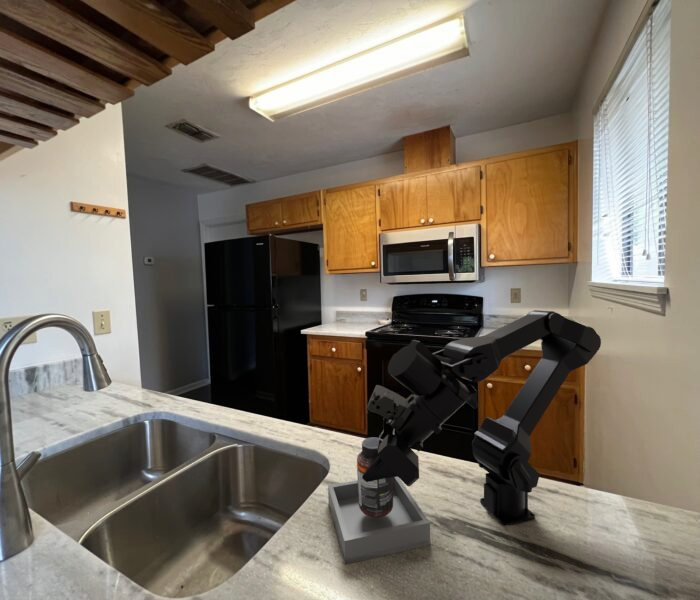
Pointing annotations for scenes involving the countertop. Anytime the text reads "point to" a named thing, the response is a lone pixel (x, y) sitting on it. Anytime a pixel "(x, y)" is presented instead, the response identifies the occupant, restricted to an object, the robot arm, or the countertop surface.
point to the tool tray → (376, 523)
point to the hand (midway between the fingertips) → (366, 468)
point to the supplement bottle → (373, 483)
